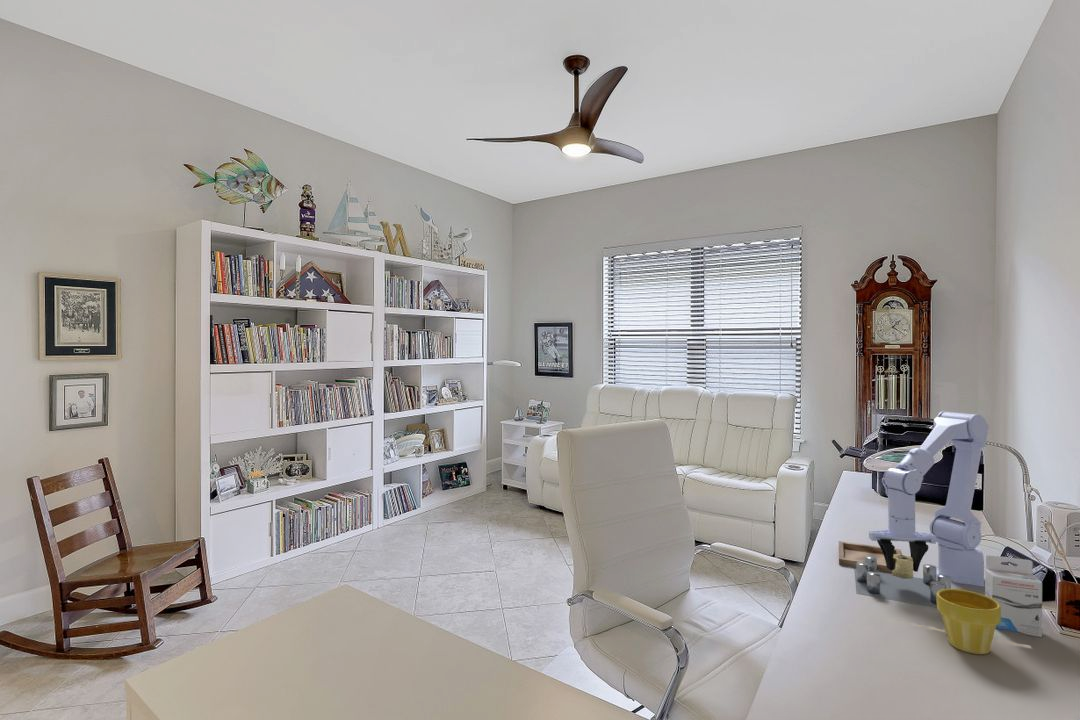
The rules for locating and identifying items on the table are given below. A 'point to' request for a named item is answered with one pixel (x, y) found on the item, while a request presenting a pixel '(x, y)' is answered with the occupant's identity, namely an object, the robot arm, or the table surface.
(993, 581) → the ink box
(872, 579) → the spacers
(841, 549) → the tray
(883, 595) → the mat
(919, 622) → the table surface
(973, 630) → the plant pot
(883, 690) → the table surface
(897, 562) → the nut
